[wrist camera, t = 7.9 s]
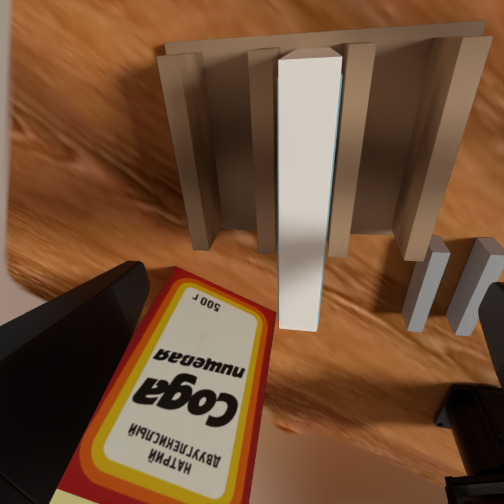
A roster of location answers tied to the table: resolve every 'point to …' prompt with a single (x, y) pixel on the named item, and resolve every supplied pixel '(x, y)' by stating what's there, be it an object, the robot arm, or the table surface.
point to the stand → (468, 289)
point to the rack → (348, 132)
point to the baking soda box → (179, 404)
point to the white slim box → (305, 178)
